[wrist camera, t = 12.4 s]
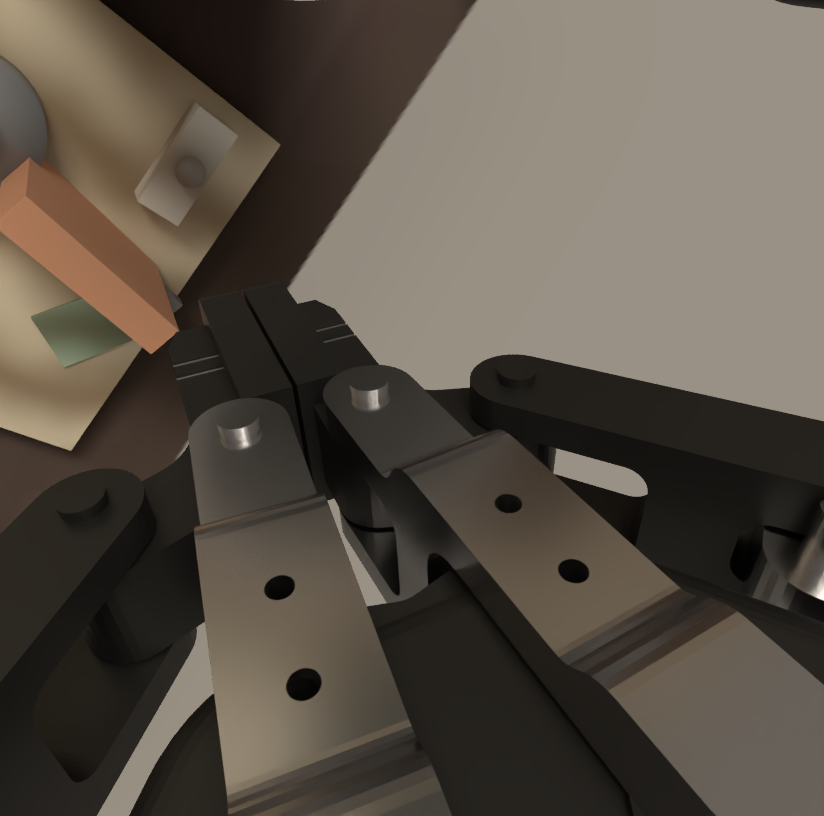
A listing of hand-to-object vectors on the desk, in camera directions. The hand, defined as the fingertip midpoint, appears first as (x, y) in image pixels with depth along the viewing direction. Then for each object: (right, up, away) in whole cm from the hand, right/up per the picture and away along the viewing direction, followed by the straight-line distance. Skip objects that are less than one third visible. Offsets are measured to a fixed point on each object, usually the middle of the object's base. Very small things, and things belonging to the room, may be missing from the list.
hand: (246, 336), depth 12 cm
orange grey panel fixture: (-16, +11, +22) cm, 29 cm away
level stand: (-19, +9, +24) cm, 32 cm away
